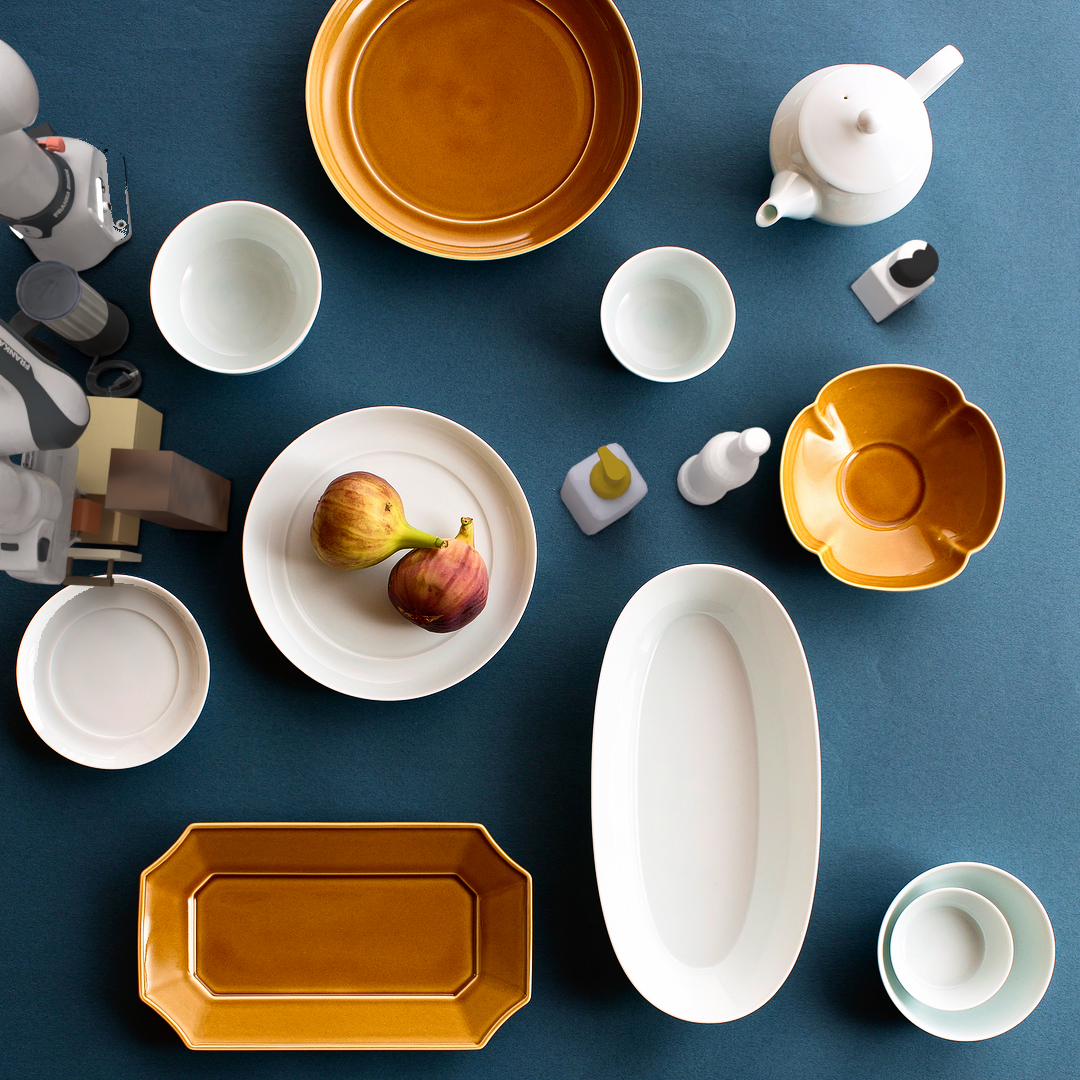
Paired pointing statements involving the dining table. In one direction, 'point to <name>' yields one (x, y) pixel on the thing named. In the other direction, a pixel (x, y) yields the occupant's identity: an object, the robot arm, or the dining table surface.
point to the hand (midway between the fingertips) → (78, 516)
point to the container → (897, 278)
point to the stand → (167, 490)
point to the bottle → (722, 465)
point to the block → (86, 516)
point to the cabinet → (114, 437)
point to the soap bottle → (602, 488)
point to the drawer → (111, 531)
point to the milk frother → (74, 322)
